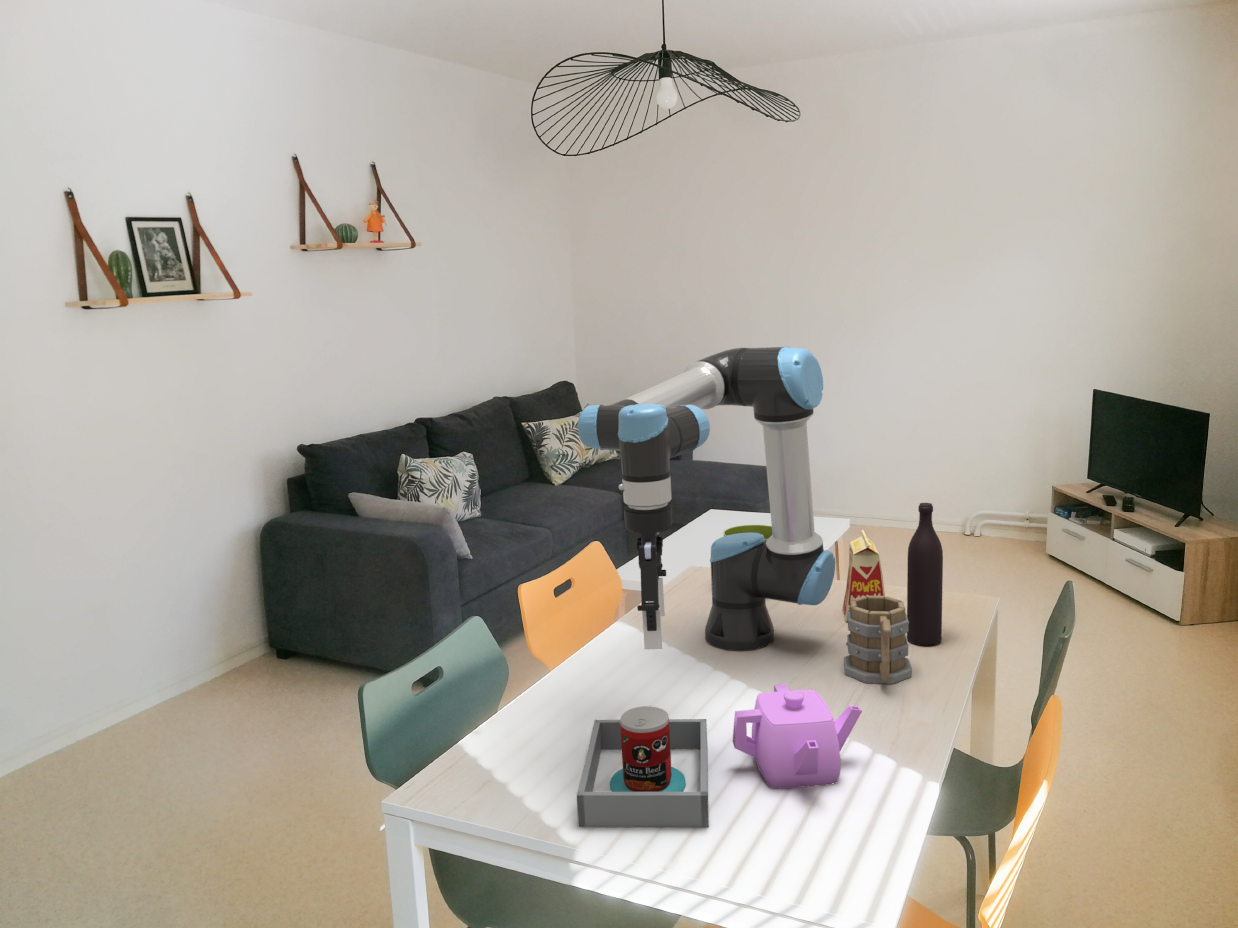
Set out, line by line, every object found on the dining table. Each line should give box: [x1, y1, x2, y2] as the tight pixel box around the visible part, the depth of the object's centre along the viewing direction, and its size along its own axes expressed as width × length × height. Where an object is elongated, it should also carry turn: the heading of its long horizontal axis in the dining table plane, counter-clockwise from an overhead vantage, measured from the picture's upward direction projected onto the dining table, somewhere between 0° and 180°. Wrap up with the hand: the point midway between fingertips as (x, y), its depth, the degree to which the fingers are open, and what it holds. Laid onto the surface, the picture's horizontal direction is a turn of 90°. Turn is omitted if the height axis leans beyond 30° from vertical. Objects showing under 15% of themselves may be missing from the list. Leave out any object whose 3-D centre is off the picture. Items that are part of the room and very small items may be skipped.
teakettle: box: [732, 683, 863, 789], centre depth 149 cm, size 17×17×12 cm
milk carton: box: [841, 529, 886, 623], centre depth 213 cm, size 9×9×20 cm
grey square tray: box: [576, 718, 710, 828], centre depth 147 cm, size 24×19×5 cm
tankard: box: [843, 595, 913, 685], centre depth 180 cm, size 20×13×15 cm, turn 169°
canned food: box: [619, 705, 672, 792], centre depth 146 cm, size 8×8×11 cm
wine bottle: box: [906, 502, 944, 647], centre depth 196 cm, size 7×7×30 cm
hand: (655, 631), depth 150 cm, fingers open, 13 cm apart
